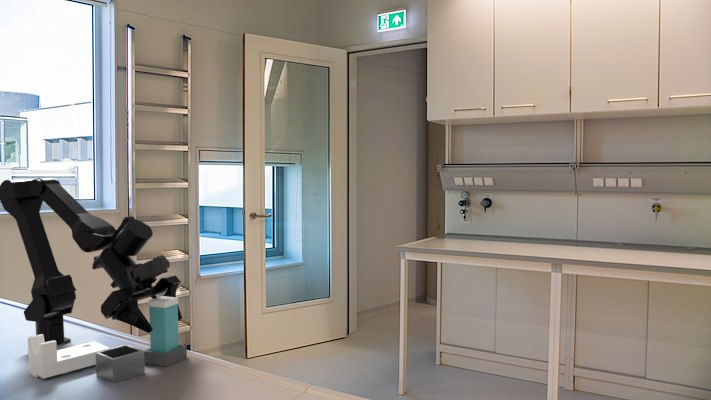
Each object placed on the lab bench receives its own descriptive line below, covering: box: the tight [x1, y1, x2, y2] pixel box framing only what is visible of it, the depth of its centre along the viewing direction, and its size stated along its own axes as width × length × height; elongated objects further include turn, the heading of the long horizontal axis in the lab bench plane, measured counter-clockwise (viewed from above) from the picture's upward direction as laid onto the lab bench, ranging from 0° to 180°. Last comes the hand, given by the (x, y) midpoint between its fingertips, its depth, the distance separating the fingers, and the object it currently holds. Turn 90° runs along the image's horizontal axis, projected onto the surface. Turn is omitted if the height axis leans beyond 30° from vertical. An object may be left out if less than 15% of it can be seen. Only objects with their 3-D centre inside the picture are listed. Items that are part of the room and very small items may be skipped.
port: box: [95, 344, 146, 384], centre depth 111 cm, size 6×6×4 cm
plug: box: [147, 296, 180, 353], centre depth 119 cm, size 4×4×13 cm
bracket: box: [27, 334, 111, 379], centre depth 115 cm, size 13×7×8 cm, turn 139°
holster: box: [144, 344, 188, 368], centre depth 119 cm, size 6×6×2 cm
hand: (166, 325), depth 119 cm, fingers open, 9 cm apart
